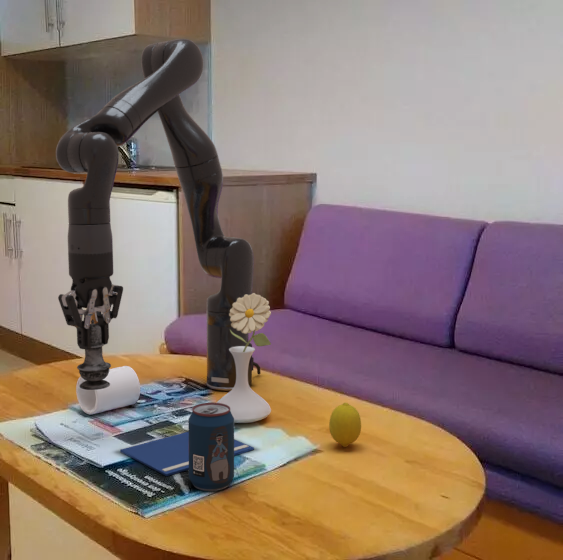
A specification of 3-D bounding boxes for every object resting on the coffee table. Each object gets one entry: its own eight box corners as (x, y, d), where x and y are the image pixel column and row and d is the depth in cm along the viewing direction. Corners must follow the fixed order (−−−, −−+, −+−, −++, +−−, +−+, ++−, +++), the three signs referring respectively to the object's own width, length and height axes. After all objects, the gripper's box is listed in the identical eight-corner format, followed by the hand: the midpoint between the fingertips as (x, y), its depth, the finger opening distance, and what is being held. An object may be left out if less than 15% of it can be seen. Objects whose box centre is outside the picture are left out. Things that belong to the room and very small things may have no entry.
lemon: (363, 443, 137) (364, 400, 136) (356, 454, 131) (357, 409, 130) (333, 439, 138) (334, 396, 137) (325, 450, 133) (326, 405, 132)
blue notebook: (205, 429, 143) (205, 426, 143) (254, 449, 133) (254, 447, 133) (120, 451, 131) (120, 449, 131) (166, 476, 121) (166, 473, 121)
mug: (141, 408, 155) (140, 369, 154) (98, 419, 148) (97, 378, 147) (108, 395, 164) (107, 358, 162) (65, 405, 156) (64, 367, 155)
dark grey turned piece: (118, 383, 138) (116, 317, 137) (97, 392, 133) (95, 323, 131) (92, 379, 141) (89, 314, 139) (70, 387, 136) (68, 320, 134)
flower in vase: (200, 418, 149) (199, 291, 146) (242, 405, 158) (242, 284, 154) (247, 434, 140) (248, 299, 137) (289, 420, 149) (291, 292, 145)
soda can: (206, 471, 123) (206, 398, 122) (242, 480, 120) (243, 406, 118) (179, 486, 117) (178, 410, 116) (216, 496, 114) (216, 418, 112)
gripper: (75, 254, 125) (79, 357, 128) (134, 246, 137) (136, 341, 140) (43, 251, 129) (47, 352, 132) (103, 244, 141) (106, 336, 144)
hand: (93, 345), depth 136 cm, fingers closed on dark grey turned piece, 3 cm apart
